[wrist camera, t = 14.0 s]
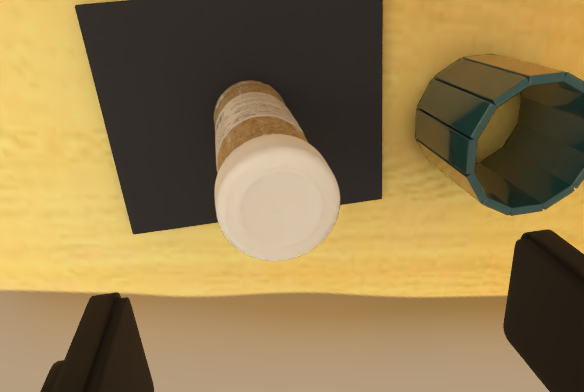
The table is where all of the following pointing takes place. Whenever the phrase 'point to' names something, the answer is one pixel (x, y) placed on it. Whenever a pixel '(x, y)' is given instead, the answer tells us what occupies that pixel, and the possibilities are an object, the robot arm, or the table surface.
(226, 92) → the sprinkles bottle
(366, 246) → the table surface
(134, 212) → the felt mat
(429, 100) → the pen cup
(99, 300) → the robot arm
